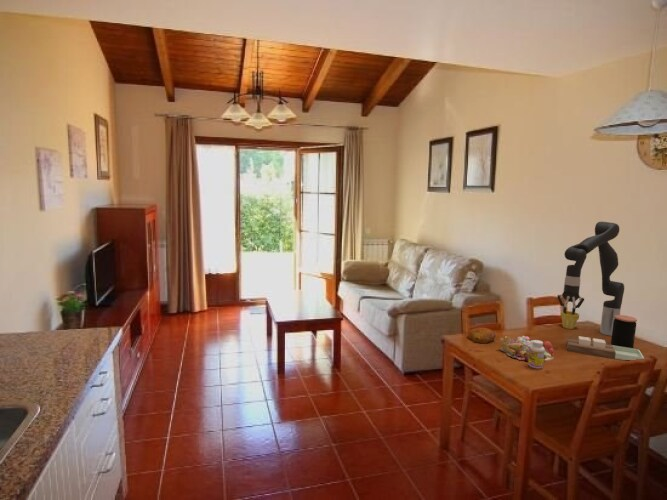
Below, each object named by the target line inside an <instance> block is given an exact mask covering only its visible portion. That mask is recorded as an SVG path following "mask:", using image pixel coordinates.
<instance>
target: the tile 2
mask: <svg viewBox="0 0 667 500" xmlns="http://www.w3.org/2000/svg"><path fill="white" fill-rule="evenodd" d="M592 341H593V342H592V344H593V347H600V348H605V346H606V343H607V342H606V340H605V339H600V338H592Z"/></svg>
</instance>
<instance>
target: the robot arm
mask: <svg viewBox="0 0 667 500" xmlns="http://www.w3.org/2000/svg"><path fill="white" fill-rule="evenodd" d="M619 233H620V225H619V224H617V223H615V222H607V221H598V222H597V223H596V224H595V227H594V235H592V236H589V237H587V238H585V239H583V240H582V241H580V242H579V243H577V244H574V245H571V246H570V247H567V249H566V250H564V257H565V259H566V260H568V261H572V262H575V263H574V264H568V265H567V266H566V271H565V277H564V284H563V291H562V294H557V296H556V297H557V299H558V302H559V304H560V306H561V307H563V310H562V311H563V312H564V314H566V311H567V306H568V303H569V302H570V303H572V308H571V311H572V315H573V314H575V312H576V309H580V307H581V306H582V304H583V303H584V302H585V298H584V297H582V296H580V290H581V289H580V286H581V274H582V269H583V266H584V263H585V262H586V259H587V254H590V253H591V252H592V251H593V250H595V249H596V248H598V255H599V257H598V258H599V265H600V272H601V292H602V293H603V294H604V295H605V296H609V297H614V299H610V300H604V301H603V305H602V312H601V320H600V321H601V322H600V327H599V332H600V334H602V335H606V336H611V337H612V330H613V322H614V319H615V318H614V316H615V315H621V309H622V305H623V304H622V303H623V297H624V293H625V284H624V282H623V283H622V282H619V281H614V280H611V275H612V274H613V273H615V271H616V269H618V266H619V256H618V253H617V252H616V250H615V249H614V248H613V247H612V246H611V244H610V243H609V242H610V241H612V240H614V239H615V238H617V237H618V235H619ZM562 298H563V299H564V303H563V300H562ZM576 301H578V302H577V304H576Z"/></svg>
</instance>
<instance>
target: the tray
mask: <svg viewBox="0 0 667 500" xmlns="http://www.w3.org/2000/svg"><path fill="white" fill-rule="evenodd" d="M612 346H613V348H614V350H615V352H616V354H615V360H621V361H625V360H636V359H644V360H645V357H644V355H643V354H642V352H641V351H640V349H638V348H634V347H633V348H627V347H620V346H614V345H612Z"/></svg>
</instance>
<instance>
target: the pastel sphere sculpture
mask: <svg viewBox="0 0 667 500" xmlns="http://www.w3.org/2000/svg"><path fill="white" fill-rule="evenodd" d="M516 338H517V339H516V340H515V338H514V337H513V338H511V337H510V336H507V335H505V336H504V337H501V338H499V340H500V345H501V347H500V348H499V350H500V351H501V352H504V353H505V354H506V356H509V357H512V358H514V359H518V360H519V361H525V362H526V363H527V362H528V360H529V351H530V346H531V345H533V340H531V339H530V337H529V336H527V335H526V336H525V335H522V336H518V337H516ZM542 347H544V349H545V351H544V360H543V362H549V361H553V360H554V359H555V353H554V352H555V349H554V348H553V345H552V342H550V341H548V340H547V341H544V342H543V346H542ZM546 350H547V351H546Z"/></svg>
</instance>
